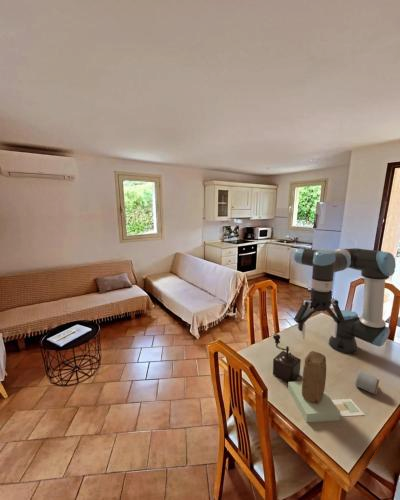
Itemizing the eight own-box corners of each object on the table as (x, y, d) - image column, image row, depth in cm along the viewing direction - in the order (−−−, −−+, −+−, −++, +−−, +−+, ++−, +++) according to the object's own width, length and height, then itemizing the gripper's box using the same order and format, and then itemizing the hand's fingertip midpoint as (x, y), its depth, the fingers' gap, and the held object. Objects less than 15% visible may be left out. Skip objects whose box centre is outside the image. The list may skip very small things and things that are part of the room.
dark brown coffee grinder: (301, 374, 116) (303, 343, 113) (291, 385, 109) (293, 353, 105) (274, 360, 127) (275, 331, 124) (263, 369, 120) (264, 339, 117)
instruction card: (350, 399, 100) (350, 398, 100) (364, 415, 92) (364, 414, 92) (329, 400, 100) (329, 399, 100) (341, 416, 92) (341, 416, 92)
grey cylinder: (376, 398, 101) (378, 383, 99) (354, 388, 106) (356, 374, 105) (378, 385, 108) (380, 371, 107) (358, 377, 114) (360, 363, 112)
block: (317, 408, 92) (321, 365, 88) (299, 397, 97) (302, 356, 93) (326, 393, 99) (330, 353, 95) (309, 384, 104) (312, 346, 101)
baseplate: (315, 387, 107) (316, 380, 106) (339, 420, 90) (340, 411, 90) (287, 389, 107) (288, 381, 106) (306, 422, 90) (306, 414, 89)
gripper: (295, 293, 85) (292, 343, 89) (357, 291, 86) (352, 340, 90) (287, 286, 93) (284, 333, 96) (344, 284, 94) (339, 330, 97)
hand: (317, 336), depth 93 cm, fingers open, 13 cm apart
